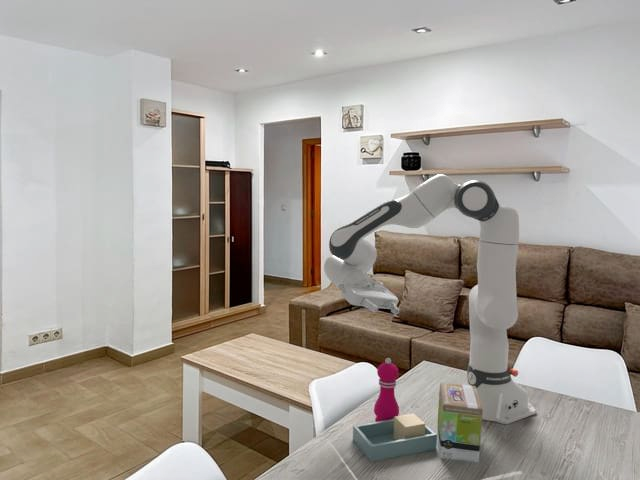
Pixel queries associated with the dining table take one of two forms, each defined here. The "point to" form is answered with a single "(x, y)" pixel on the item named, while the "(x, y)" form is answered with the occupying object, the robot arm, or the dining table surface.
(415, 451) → the box
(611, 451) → the dining table surface
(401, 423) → the tan wooden cube
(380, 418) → the pepper mill
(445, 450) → the tea box
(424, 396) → the dining table surface
